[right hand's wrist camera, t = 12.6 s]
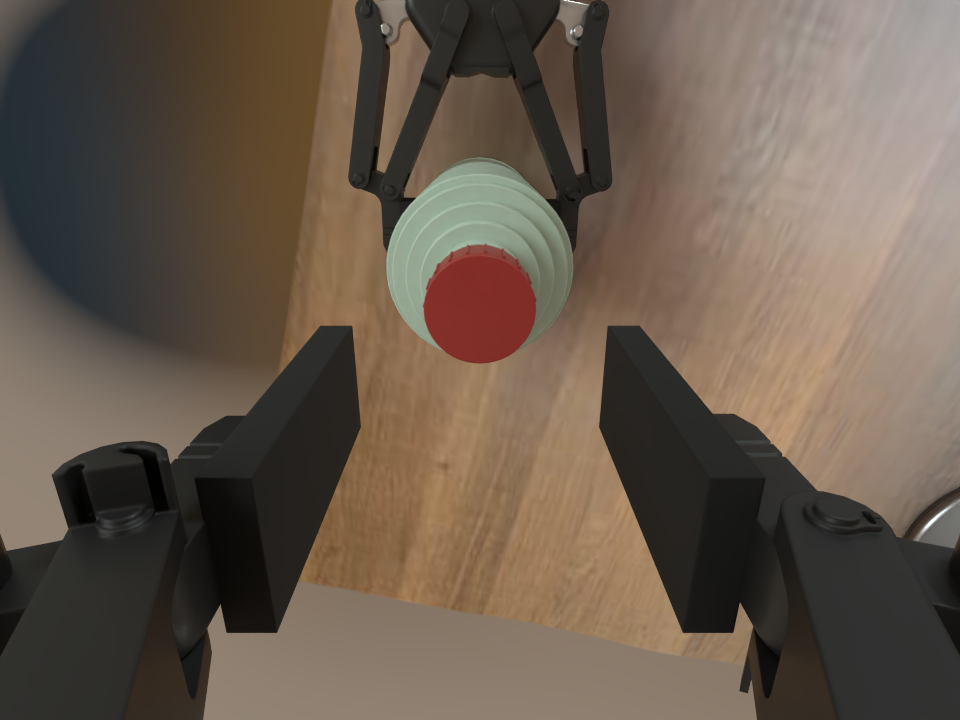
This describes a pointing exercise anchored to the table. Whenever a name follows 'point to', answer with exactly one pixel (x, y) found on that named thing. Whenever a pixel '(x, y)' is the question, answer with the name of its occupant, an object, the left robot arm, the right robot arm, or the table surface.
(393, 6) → the left robot arm
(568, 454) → the table surface
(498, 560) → the table surface
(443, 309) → the cap
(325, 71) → the table surface
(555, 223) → the bottle
